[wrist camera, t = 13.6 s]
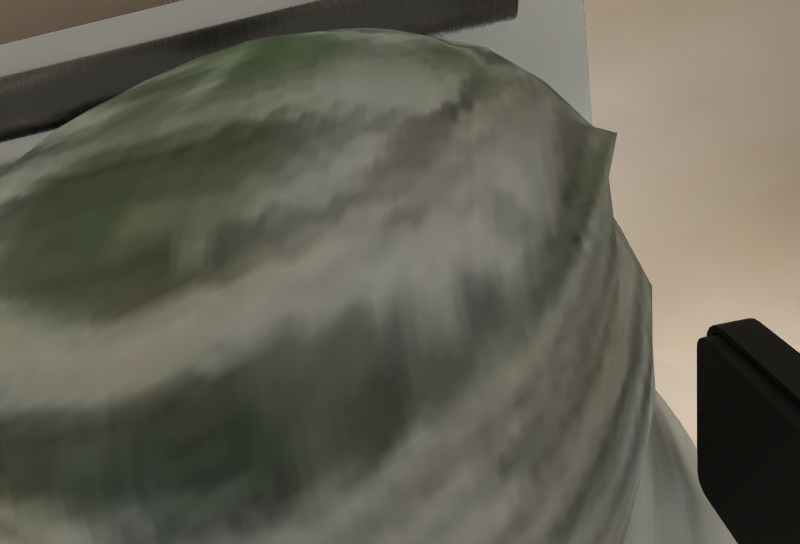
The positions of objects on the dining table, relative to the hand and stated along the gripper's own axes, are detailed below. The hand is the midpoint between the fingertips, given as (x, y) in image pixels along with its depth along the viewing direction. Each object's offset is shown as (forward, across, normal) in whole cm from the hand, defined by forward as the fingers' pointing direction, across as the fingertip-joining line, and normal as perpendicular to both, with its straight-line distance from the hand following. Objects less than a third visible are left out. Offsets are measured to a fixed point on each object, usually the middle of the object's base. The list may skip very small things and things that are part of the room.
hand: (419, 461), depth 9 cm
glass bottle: (+8, -4, +20) cm, 22 cm away
